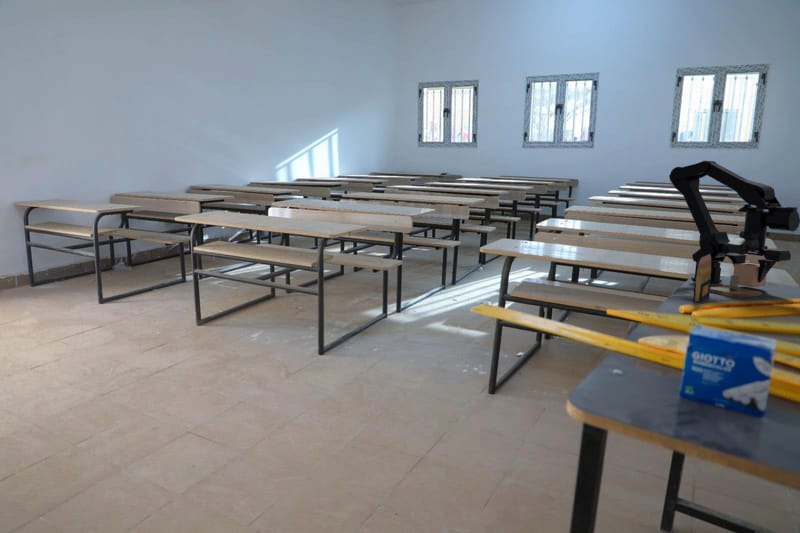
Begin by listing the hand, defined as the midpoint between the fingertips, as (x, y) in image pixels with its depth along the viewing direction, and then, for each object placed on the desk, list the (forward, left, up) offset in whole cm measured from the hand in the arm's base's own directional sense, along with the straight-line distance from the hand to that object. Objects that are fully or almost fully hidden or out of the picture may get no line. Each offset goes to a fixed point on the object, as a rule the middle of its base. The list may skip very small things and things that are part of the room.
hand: (749, 280), depth 164 cm
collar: (0, 0, -1) cm, 1 cm away
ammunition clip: (+5, -26, -3) cm, 27 cm away
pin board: (+3, -11, -2) cm, 12 cm away
